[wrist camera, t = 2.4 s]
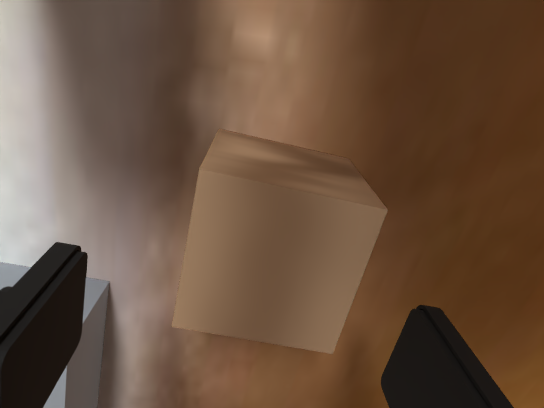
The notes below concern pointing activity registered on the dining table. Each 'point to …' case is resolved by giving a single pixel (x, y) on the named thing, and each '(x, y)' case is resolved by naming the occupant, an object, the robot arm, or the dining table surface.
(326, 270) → the walnut cube
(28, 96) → the dining table surface
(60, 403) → the grey block
